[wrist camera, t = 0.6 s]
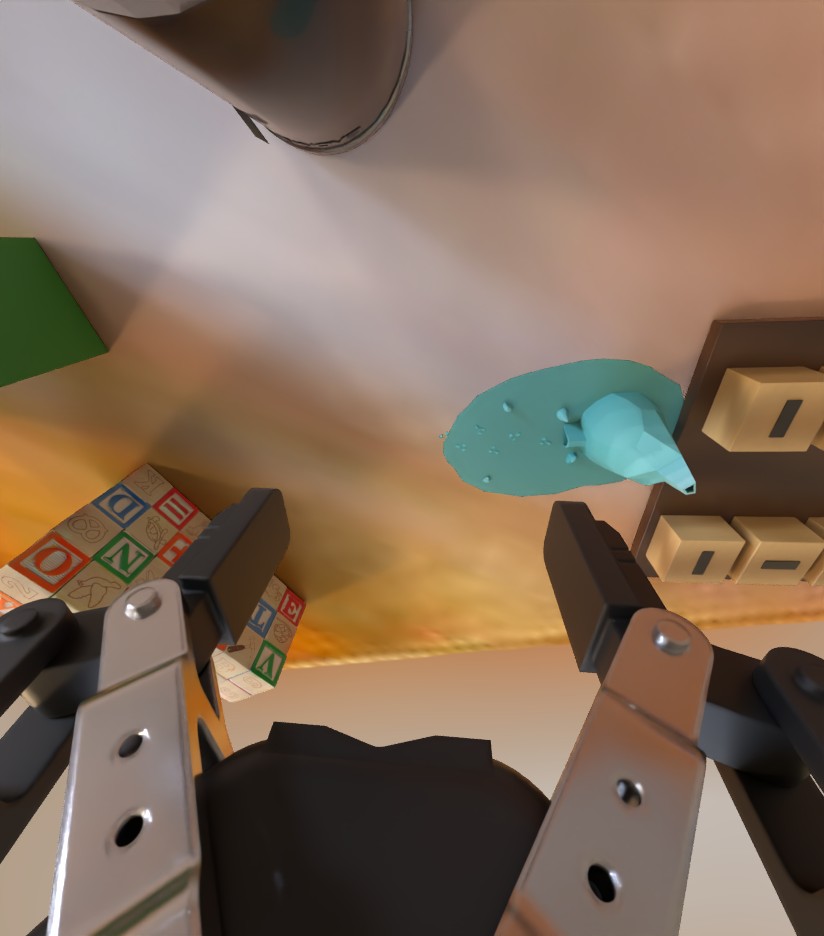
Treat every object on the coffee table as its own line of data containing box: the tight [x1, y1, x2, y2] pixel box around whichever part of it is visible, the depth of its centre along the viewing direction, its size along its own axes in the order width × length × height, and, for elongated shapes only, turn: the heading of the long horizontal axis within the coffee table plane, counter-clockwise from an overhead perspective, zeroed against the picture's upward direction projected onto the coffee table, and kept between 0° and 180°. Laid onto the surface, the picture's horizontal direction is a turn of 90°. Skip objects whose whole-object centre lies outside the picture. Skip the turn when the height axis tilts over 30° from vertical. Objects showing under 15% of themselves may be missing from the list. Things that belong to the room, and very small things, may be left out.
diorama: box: [439, 359, 696, 497], centre depth 25 cm, size 12×20×9 cm, turn 102°
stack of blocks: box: [0, 464, 306, 703], centre depth 32 cm, size 21×6×12 cm, turn 34°
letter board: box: [631, 317, 824, 585], centre depth 26 cm, size 22×20×4 cm
